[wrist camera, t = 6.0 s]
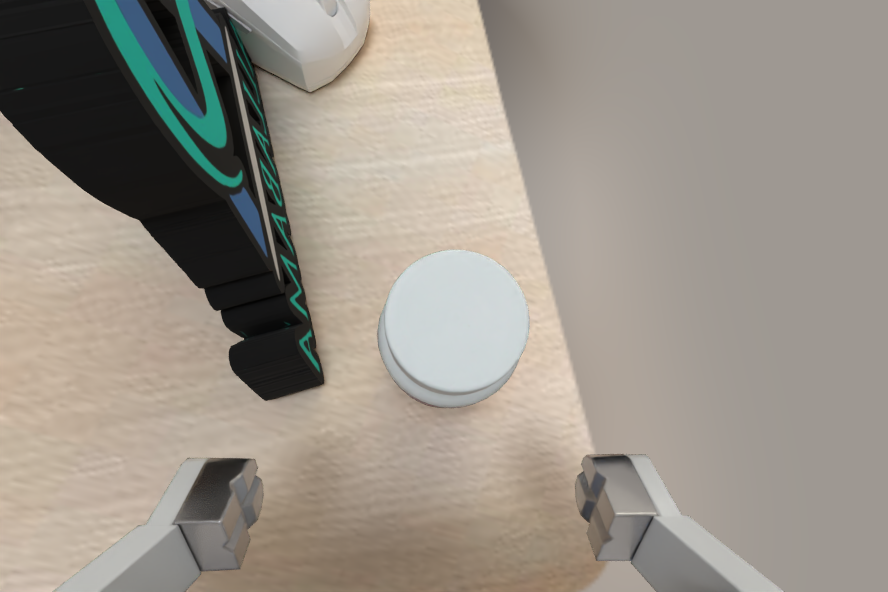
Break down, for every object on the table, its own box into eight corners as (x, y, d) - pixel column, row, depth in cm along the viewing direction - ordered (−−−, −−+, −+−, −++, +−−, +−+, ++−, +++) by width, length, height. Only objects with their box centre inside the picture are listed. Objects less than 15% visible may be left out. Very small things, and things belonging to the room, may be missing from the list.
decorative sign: (202, 54, 22) (-206, -580, 8) (249, 45, 23) (-64, -584, 8) (270, 400, 18) (-327, 409, 4) (325, 384, 19) (-32, 335, 4)
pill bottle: (512, 373, 19) (579, 349, 11) (423, 428, 18) (425, 445, 10) (459, 287, 20) (486, 207, 12) (372, 335, 19) (338, 285, 11)
